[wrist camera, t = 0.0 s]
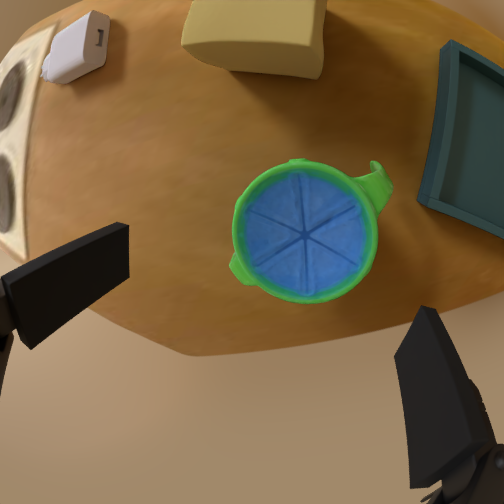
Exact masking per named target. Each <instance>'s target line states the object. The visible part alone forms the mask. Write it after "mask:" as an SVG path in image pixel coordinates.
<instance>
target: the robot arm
mask: <svg viewBox="0 0 504 504" xmlns="http://www.w3.org/2000/svg"><path fill="white" fill-rule="evenodd" d="M129 277H130V276H129V225H126V224H123V223H119V222H116V223H113V224H111V225H108V226H106V227H104V228H101V229H99V230H96V231H94V232H92V233H89V234H87V235H85V236H83V237H80V238H78V239H76V240H74V241H71V242H69V243H67V244H65V245H63V246H61V247H58V248H56V249H54V250H52V251H50V252H48V253H46V254H44V255H42V256H40V257H38V258H36V259H34V260H32V261H30V262H28V263H26V264H24V265H22V266H20V267H18V268H16V269H14V270H12V271H10V272H8V273H7V274H5V275H3V276H1V279H0V395H1V389H2V384H3V379H4V375H5V370H6V366H7V362H8V358H9V354H10V351H11V346H12V344H13V340H14V335H13V333H12V331H13V330H14V329H17V332H18V335H19V337H20V340H21V341H22V342H23V343H24V344H25V345H26V346H27V347H28V348H29V349H30V350H32V349H33V348H34V347H36V346H37V345H38V344H39V343H41V342H42V341H43V340H45V339H46V338H47V337H48V336H49V335H51V334H52V333H54V332H55V331H56V330H57V329H59V328H60V327H61V326H63V325H64V324H65V323H67V322H68V321H69V320H70V319H72V318H73V317H75V316H76V315H77V314H79V313H80V312H82V311H83V310H84V309H86V308H87V307H88V306H90V305H91V304H93V303H94V302H95V301H97V300H98V299H99V298H101V297H102V296H104V295H105V294H106V293H108V292H109V291H111V290H112V289H114V288H115V287H116V286H118V285H119V284H121V283H122V282H124V281H125V280H126V279H128V278H129ZM394 359H395V364H396V369H397V374H398V379H399V385H400V390H401V397H402V404H403V410H404V418H405V425H406V435H407V445H408V457H409V475H410V489H414V488H428V487H430V486H431V485H433V484H435V483H436V482H438V481H439V480H442V486H441V487H440V488H438V489H437V490H435V491H434V492H432V493H431V494H429V495H427V496H425V497H424V498H423V499H422V500H421V502H424V501H426V500H428V499H429V498H431V499H430V500H429V502H428V503H427V504H504V444H497V442H496V439H495V436H494V432H493V429H492V426H491V423H490V420H489V417H488V414H487V412H485V410H486V408H485V405H484V403H482V397H481V395H480V392H479V390H478V388H477V387H476V386H475V384H474V383H473V382H472V380H471V379H469V378H468V376H467V374H466V371H465V369H464V366H463V364H462V362H461V359H460V357H459V355H458V353H457V351H456V349H455V346H454V344H453V342H452V340H451V338H450V336H449V334H448V332H447V330H446V328H445V326H444V324H443V322H442V320H441V318H440V317H439V315H438V313H437V311H436V309H433V308H430V307H426V306H422V305H421V307H420V309H419V311H418V313H417V315H416V317H415V319H414V321H413V323H412V325H411V326H410V329H409V330H408V332H407V334H406V336H405V338H404V340H403V341H402V343H401V345H400V347H399V348H398V350H397V352H396V353H395V355H394Z"/></svg>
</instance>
